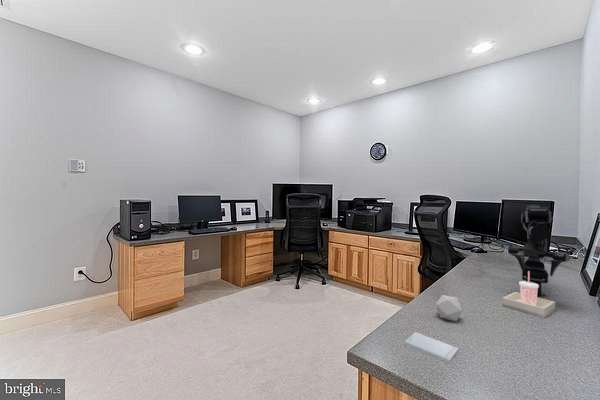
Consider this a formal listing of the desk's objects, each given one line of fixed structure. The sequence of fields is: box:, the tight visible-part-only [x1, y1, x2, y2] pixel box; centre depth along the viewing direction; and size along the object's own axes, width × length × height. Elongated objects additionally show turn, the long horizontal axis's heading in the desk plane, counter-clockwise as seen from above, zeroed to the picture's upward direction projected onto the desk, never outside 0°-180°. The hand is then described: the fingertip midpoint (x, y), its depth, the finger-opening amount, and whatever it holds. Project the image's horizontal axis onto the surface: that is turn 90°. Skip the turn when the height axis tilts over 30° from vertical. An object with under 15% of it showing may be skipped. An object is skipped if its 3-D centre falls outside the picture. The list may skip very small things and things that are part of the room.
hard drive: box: [404, 331, 460, 364], centre depth 77 cm, size 2×8×12 cm
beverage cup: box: [518, 271, 539, 306], centre depth 106 cm, size 6×6×14 cm
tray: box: [502, 291, 556, 319], centre depth 106 cm, size 13×13×4 cm
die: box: [435, 294, 463, 322], centre depth 96 cm, size 8×9×10 cm
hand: (536, 273), depth 111 cm, fingers open, 9 cm apart
